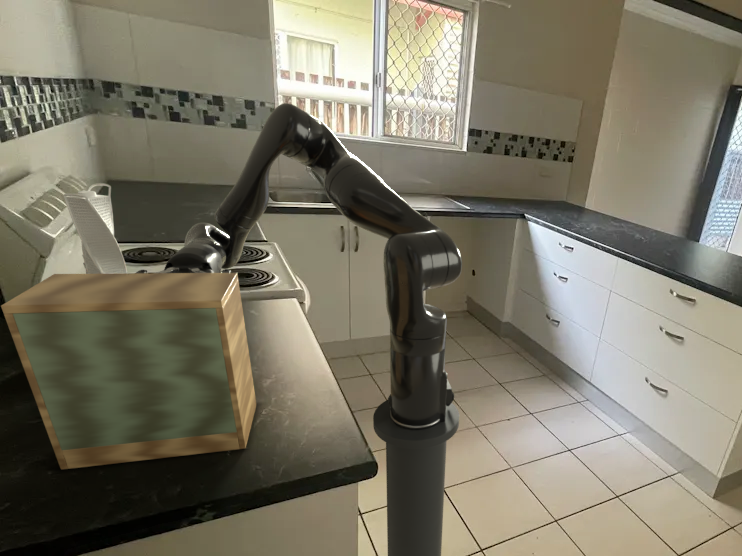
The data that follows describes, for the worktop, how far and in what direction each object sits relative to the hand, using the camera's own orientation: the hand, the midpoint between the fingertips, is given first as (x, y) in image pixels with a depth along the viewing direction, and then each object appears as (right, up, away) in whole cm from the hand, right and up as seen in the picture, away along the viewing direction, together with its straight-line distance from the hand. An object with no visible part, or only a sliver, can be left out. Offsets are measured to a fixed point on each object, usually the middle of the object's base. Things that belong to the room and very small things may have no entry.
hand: (170, 295), depth 74 cm
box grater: (-36, -1, +34) cm, 49 cm away
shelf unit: (+2, -21, -3) cm, 21 cm away
